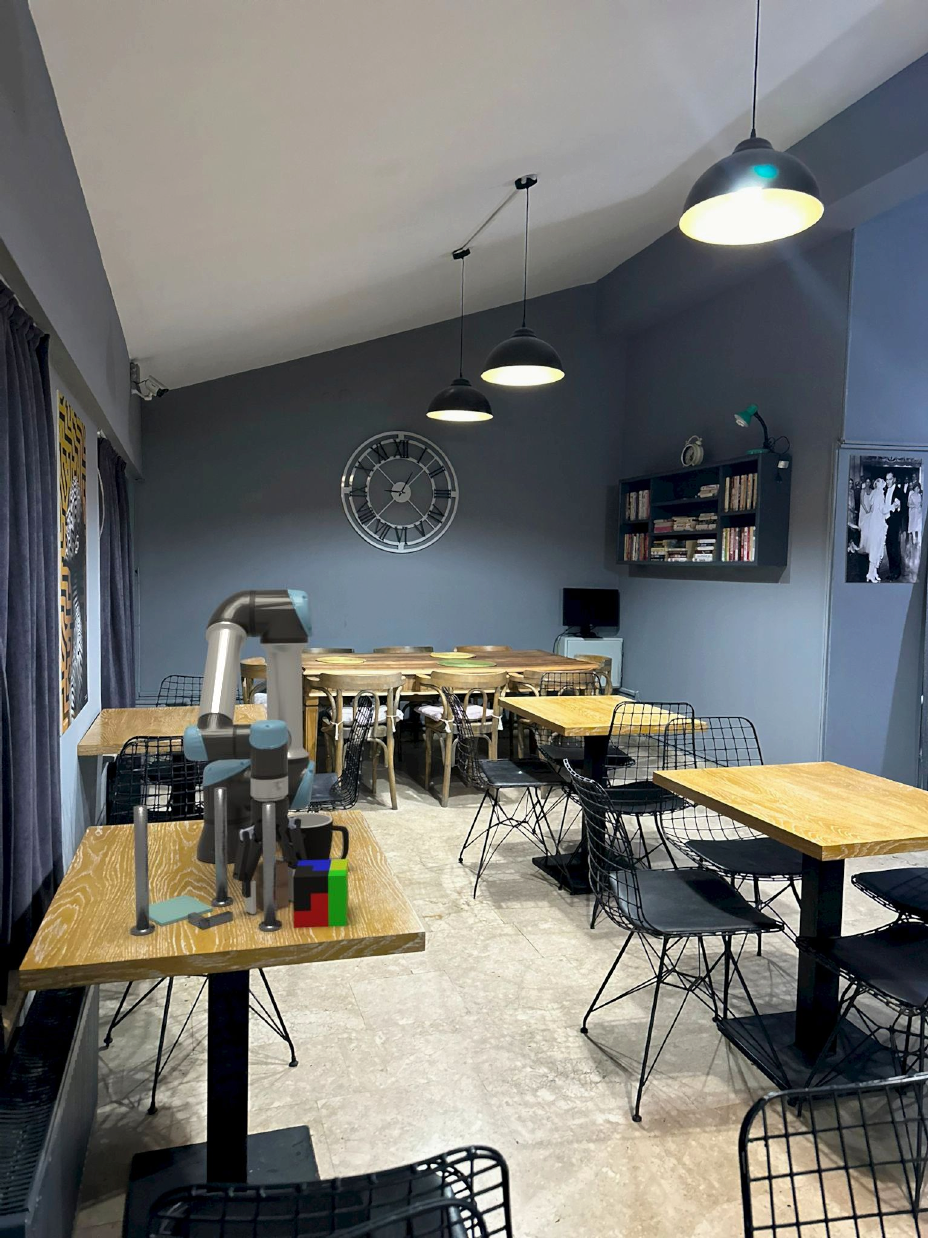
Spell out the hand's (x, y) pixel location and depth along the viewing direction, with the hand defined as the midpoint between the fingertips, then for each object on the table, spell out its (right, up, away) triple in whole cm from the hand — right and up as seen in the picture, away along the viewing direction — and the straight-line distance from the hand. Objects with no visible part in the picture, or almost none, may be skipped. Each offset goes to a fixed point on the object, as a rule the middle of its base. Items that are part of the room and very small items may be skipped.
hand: (271, 905), depth 178 cm
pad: (-19, 0, -2) cm, 19 cm away
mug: (+3, 0, +22) cm, 22 cm away
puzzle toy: (+11, -1, -5) cm, 13 cm away
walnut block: (0, 0, 0) cm, 0 cm away
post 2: (-11, 0, +2) cm, 11 cm away
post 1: (-22, -1, -12) cm, 25 cm away
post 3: (+2, -1, -10) cm, 11 cm away
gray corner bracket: (-10, -1, -7) cm, 13 cm away
